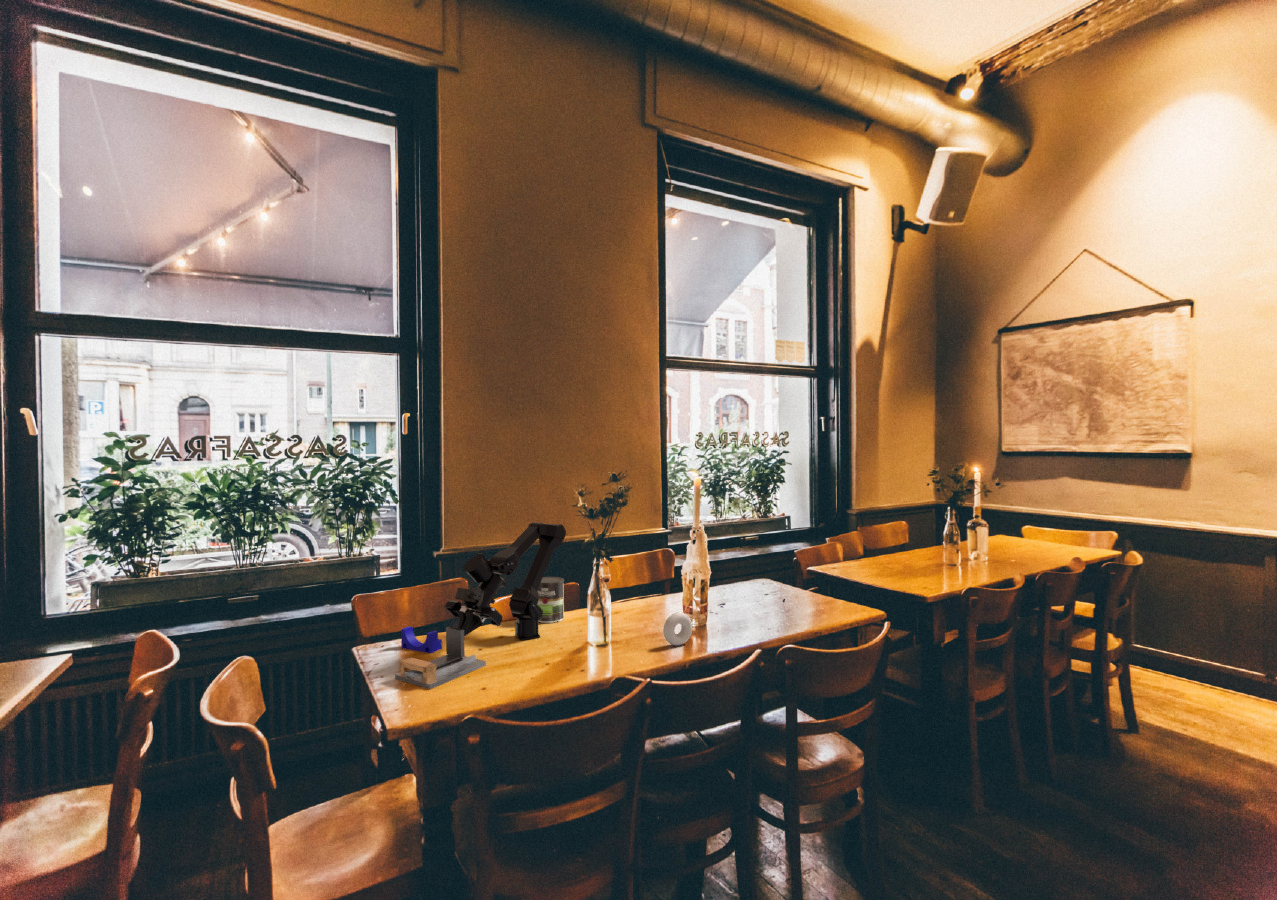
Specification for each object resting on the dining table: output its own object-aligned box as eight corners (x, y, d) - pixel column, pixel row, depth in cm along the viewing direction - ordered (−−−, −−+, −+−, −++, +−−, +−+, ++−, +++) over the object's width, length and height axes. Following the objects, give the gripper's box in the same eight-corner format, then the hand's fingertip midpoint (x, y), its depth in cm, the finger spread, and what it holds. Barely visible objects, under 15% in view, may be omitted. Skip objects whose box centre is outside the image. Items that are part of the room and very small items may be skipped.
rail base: (451, 656, 174) (451, 639, 174) (485, 665, 167) (485, 647, 167) (394, 678, 158) (394, 660, 158) (430, 689, 151) (429, 669, 151)
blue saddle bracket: (441, 649, 182) (441, 629, 182) (430, 654, 178) (430, 634, 178) (413, 644, 187) (412, 625, 187) (401, 648, 183) (401, 629, 183)
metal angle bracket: (449, 658, 169) (449, 626, 169) (464, 662, 166) (464, 629, 166) (420, 669, 160) (419, 636, 160) (435, 674, 157) (434, 639, 157)
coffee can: (559, 624, 205) (558, 583, 205) (530, 623, 207) (530, 582, 207) (568, 615, 216) (567, 576, 216) (540, 614, 217) (540, 576, 217)
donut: (667, 649, 178) (666, 616, 177) (661, 646, 180) (660, 613, 180) (694, 643, 183) (694, 611, 182) (688, 640, 186) (687, 608, 185)
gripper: (449, 572, 177) (418, 619, 167) (494, 579, 167) (465, 629, 158) (469, 593, 184) (441, 639, 174) (514, 601, 174) (487, 650, 164)
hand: (457, 639), depth 167 cm, fingers closed, pressing on metal angle bracket
